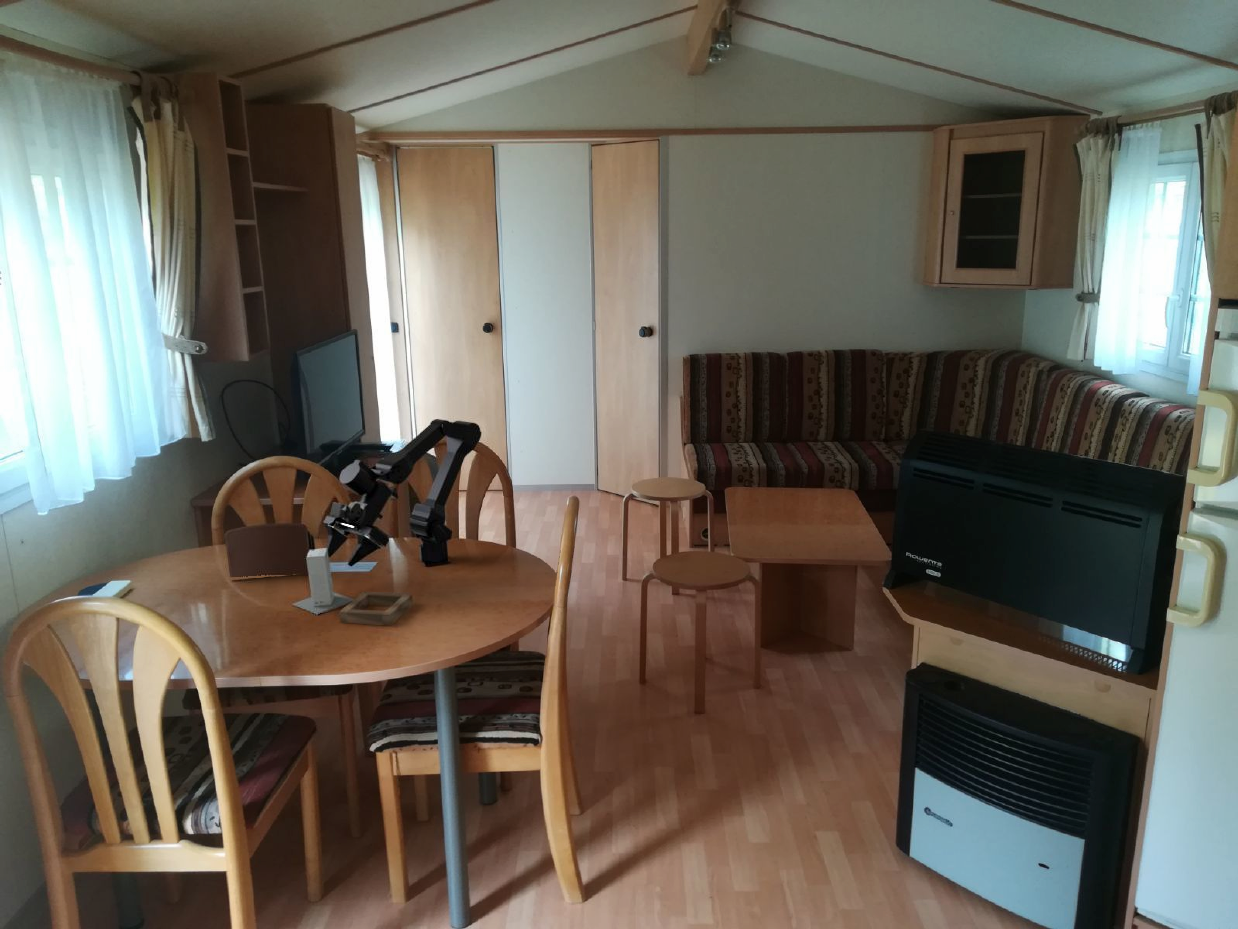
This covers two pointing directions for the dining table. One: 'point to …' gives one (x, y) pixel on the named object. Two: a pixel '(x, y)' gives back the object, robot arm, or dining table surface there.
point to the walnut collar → (388, 617)
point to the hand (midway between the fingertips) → (337, 561)
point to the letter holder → (268, 549)
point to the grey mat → (337, 602)
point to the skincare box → (320, 577)
